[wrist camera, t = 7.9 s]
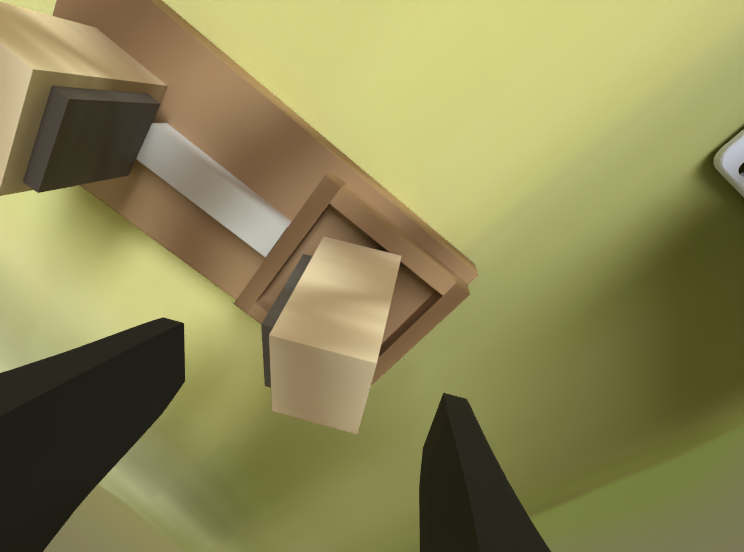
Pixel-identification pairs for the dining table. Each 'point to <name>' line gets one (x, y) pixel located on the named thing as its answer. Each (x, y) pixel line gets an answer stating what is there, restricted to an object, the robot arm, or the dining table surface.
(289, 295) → the block
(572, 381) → the dining table surface
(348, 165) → the rail base
